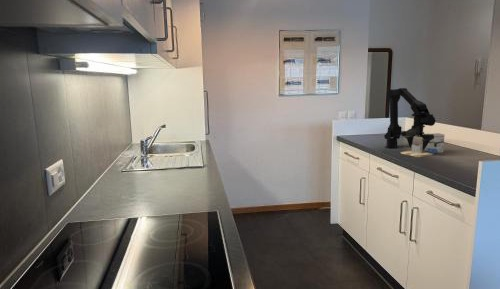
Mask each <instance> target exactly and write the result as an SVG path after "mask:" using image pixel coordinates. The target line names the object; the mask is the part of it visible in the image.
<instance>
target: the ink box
mask: <svg viewBox="0 0 500 289" xmlns="http://www.w3.org/2000/svg"><path fill="white" fill-rule="evenodd" d="M432 134H433V135H434V139H432V140H430V142H429V143H428V144H427V146H426V152H428V153H433V154H440V153H444V146H445V145H444V144H445V134H444V133H439V132H438V133H437V132H436V133H435V132H434V133H432Z"/></svg>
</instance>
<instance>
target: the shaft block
mask: <svg viewBox="0 0 500 289" xmlns="http://www.w3.org/2000/svg"><path fill="white" fill-rule="evenodd" d="M414 144H415V145H419V144H420V143H414ZM400 154H402V155H405V156H412V157H416V158H424V157H430V156H434V153H430V152H427V151H422V153H421V154H415V153H411V150H405V151H400Z"/></svg>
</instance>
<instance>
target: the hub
mask: <svg viewBox="0 0 500 289" xmlns="http://www.w3.org/2000/svg"><path fill="white" fill-rule="evenodd" d="M415 144H416V143H412V146H411V153H415V154H421V153H422V152H423V149H422V147H423V144H421V143H418V144H419V145H415Z"/></svg>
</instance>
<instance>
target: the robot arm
mask: <svg viewBox="0 0 500 289" xmlns="http://www.w3.org/2000/svg"><path fill="white" fill-rule="evenodd" d="M401 97H402V98H403V99H404V100H405V102H407V104H409V105H410V110H412V112H413V113H412V114H411V115H410V116H411V117H413V123H412V124H413V125H411V128H409V129H407V130H405V131H402V126H400V125H399V101H400V100H401ZM386 98H387V101H388V102H389V126H388V127H387V131H386V132H385V134H384V139H385V140H386V145H385V146H384V148H387V149H392V150H393V149H399V146H398V140H399V139H400V138H401V136H402V137H403V138H405V139H406V140H407V143H408V148H409V149H410V148H411V146H412V144H414V138H415V137H418V138H422V139H421V141H422V151H425V149H427V147H428V143H429V142H430V140H432V139H434V135H433V134H434V133H425V132H424V128H425V127H426V126H429V127H432V126H434V125H435V124H436V118H435V116H434V114H433V113H432V114H431V113H430V111H429V109H428V106H427V105H426V103H424V102H422V101H420V100H419V99H417V98H416V97H415V96H414V95H413V94H412V93H411V92H410V91H409V90H408V89H407V88H406V87H400V88H396V89H394V88H393V89H388V90H387V91H386Z"/></svg>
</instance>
